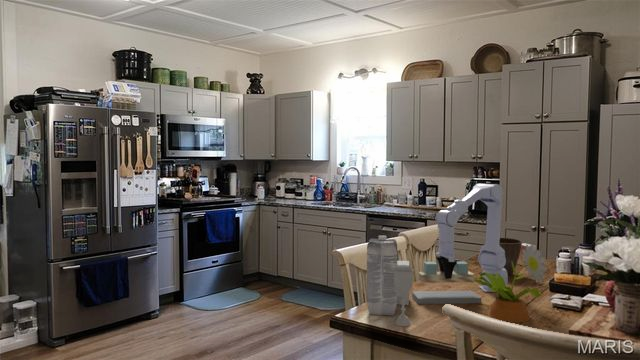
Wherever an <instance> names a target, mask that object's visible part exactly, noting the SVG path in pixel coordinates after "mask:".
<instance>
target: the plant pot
mask: <svg viewBox="0 0 640 360" xmlns="http://www.w3.org/2000/svg"><path fill="white" fill-rule="evenodd" d="M522 242H523V241H522V240H521V239H517V238H509V237H500V240H499V245H500V247H501V248H502V249H503V250H504V251H505V258H506V264H505V266H504V267H503V268H505V269H506V271H507V274H508V277H511V276H513V274H514V271H513V268H512V264H511V261H512V262H513V264H514V267H515V268H517V265H518V264H517V262H518V258H519V255H520V250H521V245H522ZM489 252H490V251H489ZM493 253H494V252H493Z"/></svg>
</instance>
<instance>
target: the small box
mask: <svg viewBox="0 0 640 360" xmlns="http://www.w3.org/2000/svg"><path fill="white" fill-rule="evenodd" d="M526 245H528V247H529V249H530V246H531V244H529V243H526V242H525V243H524V242H523V243H522V245H521V250H520V255H519V258H518V262H517V265H519V266H522V267H523V266H525V267H526V264H525V261H524V260H523V258H524V253H523V251H522V250H523V249H524V250H525V251H526ZM536 249H537V245H534V252H535V250H536ZM525 267H524V268H525Z"/></svg>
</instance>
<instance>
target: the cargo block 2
mask: <svg viewBox="0 0 640 360" xmlns="http://www.w3.org/2000/svg"><path fill="white" fill-rule="evenodd" d="M468 271H469V264H468V263H467V262H466V261H464V260H463V261H457V264H456V265H455V267H454V270H453V272H455V273H456V274H468Z"/></svg>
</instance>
